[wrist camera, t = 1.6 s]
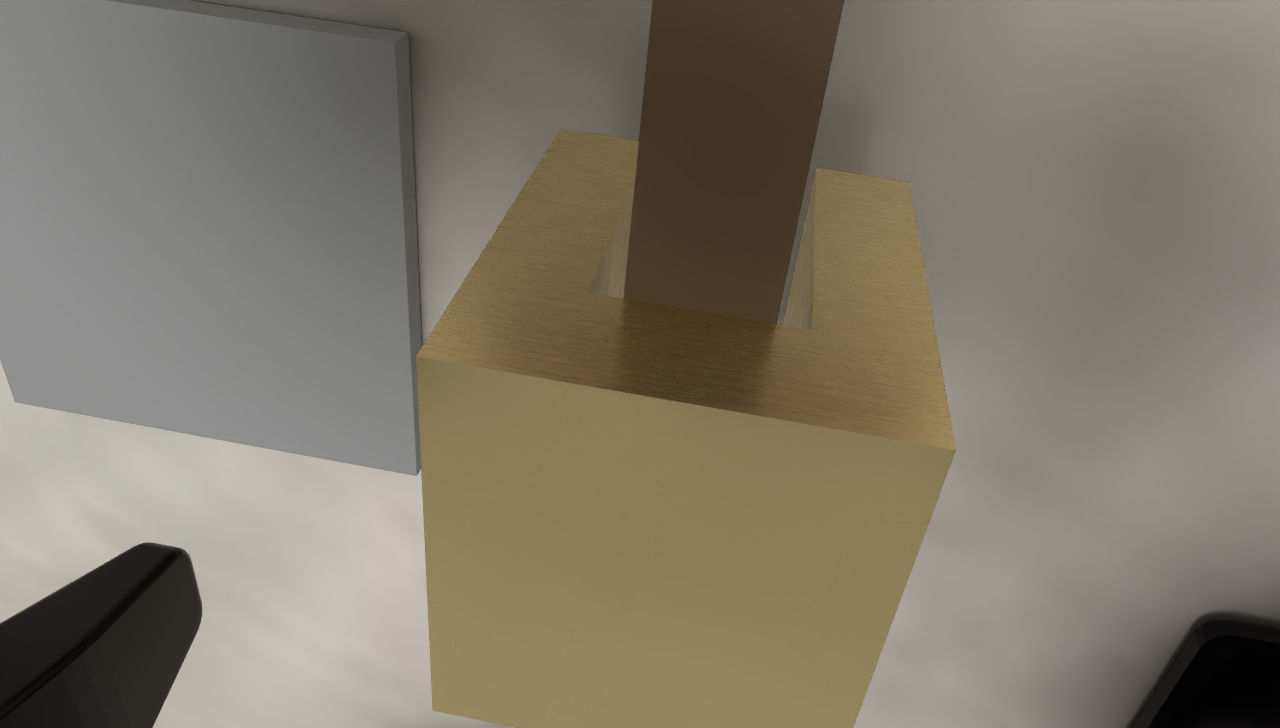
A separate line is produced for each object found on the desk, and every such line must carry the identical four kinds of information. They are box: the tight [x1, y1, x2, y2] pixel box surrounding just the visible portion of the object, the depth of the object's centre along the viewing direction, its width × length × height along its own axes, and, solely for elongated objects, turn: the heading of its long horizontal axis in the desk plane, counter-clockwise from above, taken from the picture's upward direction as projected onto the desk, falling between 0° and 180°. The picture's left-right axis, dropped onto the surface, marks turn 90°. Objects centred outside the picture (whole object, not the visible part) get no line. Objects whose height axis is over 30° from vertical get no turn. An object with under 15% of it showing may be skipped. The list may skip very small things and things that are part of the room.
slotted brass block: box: [416, 129, 956, 728], centre depth 12 cm, size 5×5×6 cm
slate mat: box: [0, 0, 422, 476], centre depth 18 cm, size 9×9×1 cm
